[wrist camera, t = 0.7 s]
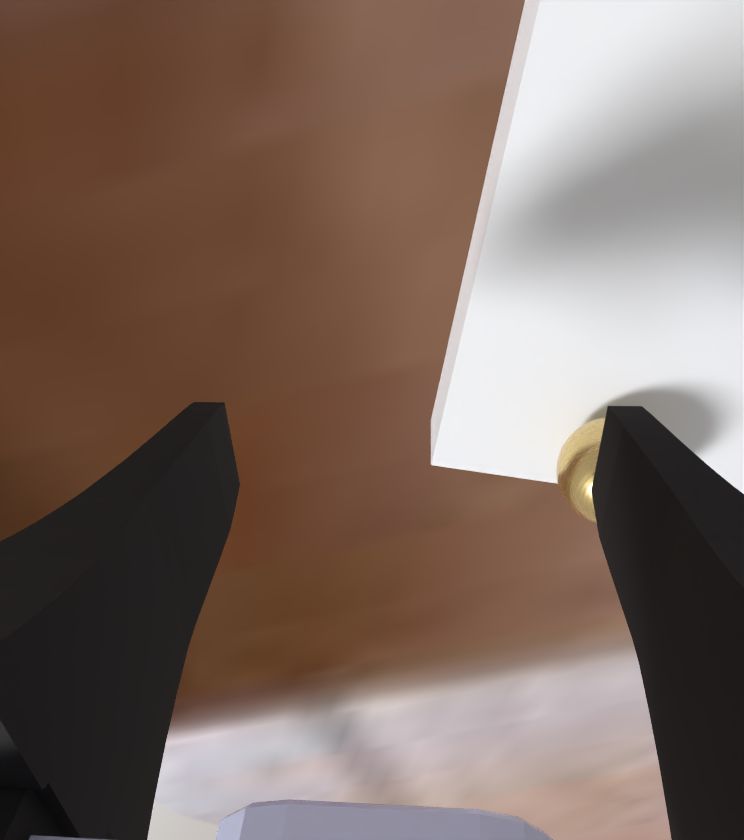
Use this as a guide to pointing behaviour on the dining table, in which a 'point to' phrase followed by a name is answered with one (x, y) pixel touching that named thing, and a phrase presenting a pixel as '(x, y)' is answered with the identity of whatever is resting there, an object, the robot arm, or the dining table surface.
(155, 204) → the dining table surface
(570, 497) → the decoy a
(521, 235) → the plate
